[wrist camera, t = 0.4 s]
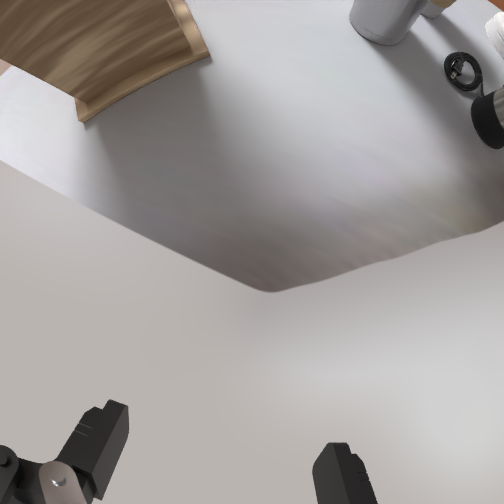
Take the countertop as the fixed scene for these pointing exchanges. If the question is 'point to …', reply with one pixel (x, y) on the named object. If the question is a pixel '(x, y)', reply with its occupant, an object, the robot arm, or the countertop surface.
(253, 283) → the countertop surface
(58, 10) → the oak lectern
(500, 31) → the honey pot
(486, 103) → the milk frother
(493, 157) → the countertop surface
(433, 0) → the coffee cup
